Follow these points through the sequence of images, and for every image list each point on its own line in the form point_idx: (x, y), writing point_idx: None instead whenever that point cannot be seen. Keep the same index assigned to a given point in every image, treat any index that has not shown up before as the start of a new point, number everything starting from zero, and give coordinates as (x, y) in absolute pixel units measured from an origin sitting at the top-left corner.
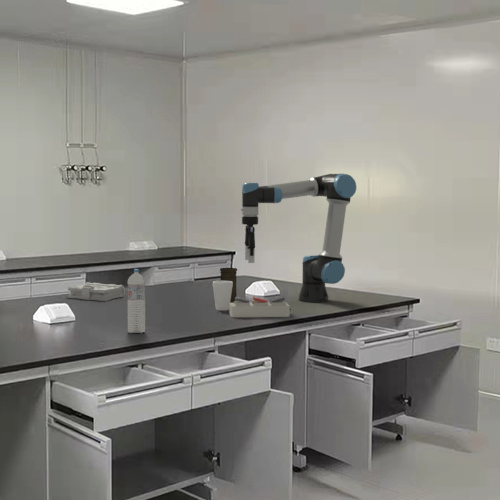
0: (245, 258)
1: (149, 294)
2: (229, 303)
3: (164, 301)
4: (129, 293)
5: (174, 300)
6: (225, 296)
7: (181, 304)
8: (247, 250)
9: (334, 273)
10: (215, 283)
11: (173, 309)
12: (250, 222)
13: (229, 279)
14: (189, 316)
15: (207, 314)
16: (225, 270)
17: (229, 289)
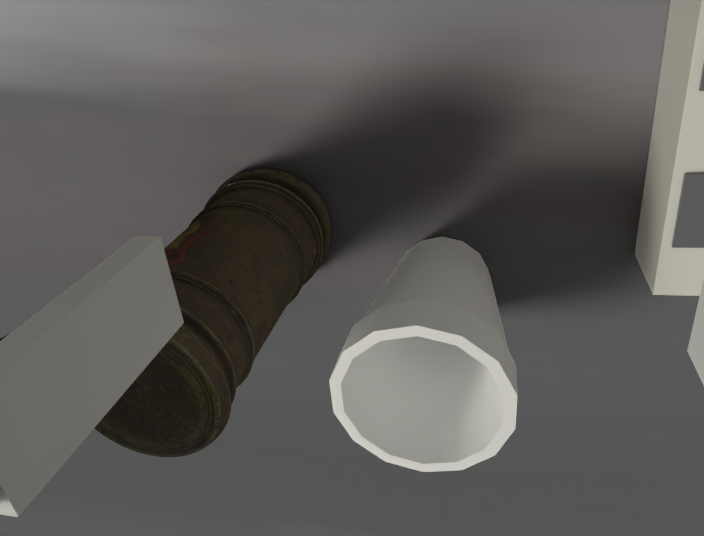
0: (170, 334)
1: (27, 519)
2: (661, 292)
3: (198, 499)
4: None
5: (160, 461)
6: (500, 320)
7: (276, 451)
8: (67, 403)
9: None
10: (479, 457)
11: (438, 502)
12: None
13: (254, 332)
14: (692, 471)
15: (639, 380)
16: (225, 422)
17: (490, 323)
